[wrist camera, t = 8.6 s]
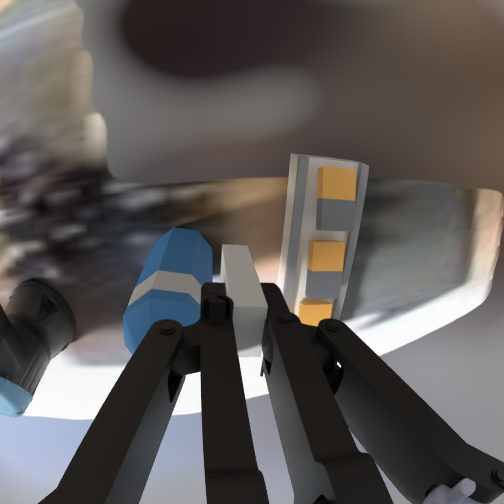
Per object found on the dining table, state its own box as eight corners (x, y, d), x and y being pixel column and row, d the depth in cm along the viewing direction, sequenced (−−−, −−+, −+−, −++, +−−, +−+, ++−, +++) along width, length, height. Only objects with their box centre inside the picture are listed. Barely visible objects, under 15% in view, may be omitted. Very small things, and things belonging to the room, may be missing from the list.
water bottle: (220, 274, 47) (228, 402, 25) (164, 288, 47) (135, 414, 24) (204, 219, 44) (195, 325, 21) (144, 235, 43) (86, 344, 21)
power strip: (271, 328, 53) (276, 347, 48) (290, 153, 41) (300, 156, 36) (324, 326, 54) (332, 343, 49) (354, 160, 42) (369, 165, 38)
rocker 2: (305, 295, 43) (309, 299, 41) (309, 239, 42) (313, 241, 40) (334, 294, 44) (339, 298, 42) (339, 240, 42) (345, 242, 40)
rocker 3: (295, 347, 47) (298, 353, 45) (299, 301, 46) (303, 305, 44) (322, 346, 47) (326, 351, 45) (327, 300, 46) (332, 304, 44)
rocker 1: (315, 229, 39) (320, 230, 37) (317, 168, 38) (323, 166, 36) (347, 230, 40) (353, 231, 38) (349, 171, 38) (355, 170, 36)
